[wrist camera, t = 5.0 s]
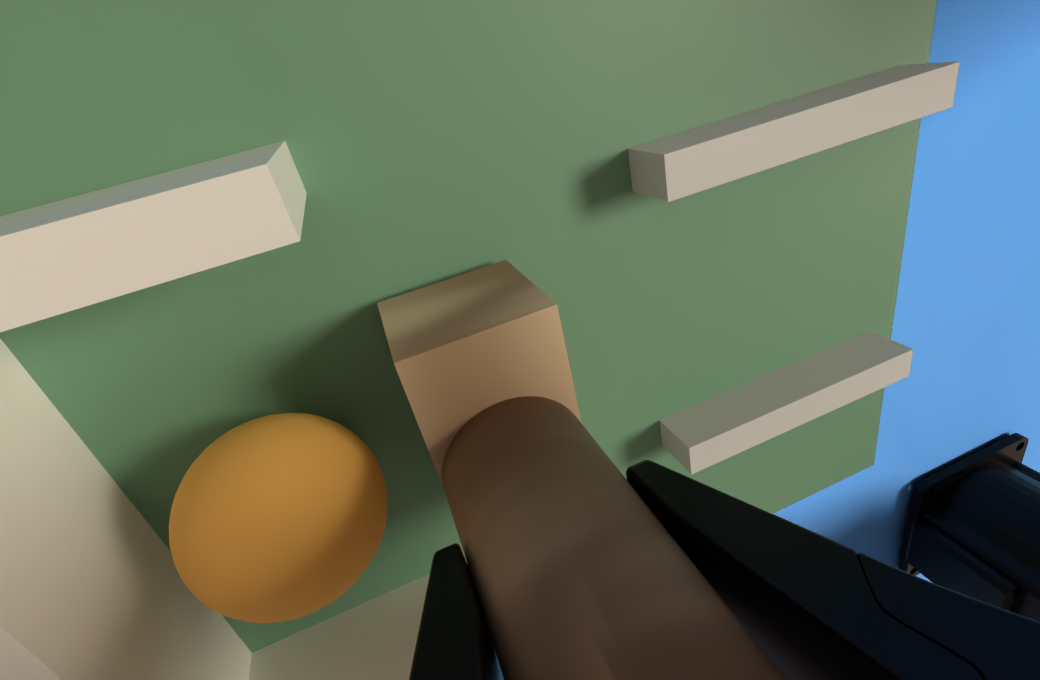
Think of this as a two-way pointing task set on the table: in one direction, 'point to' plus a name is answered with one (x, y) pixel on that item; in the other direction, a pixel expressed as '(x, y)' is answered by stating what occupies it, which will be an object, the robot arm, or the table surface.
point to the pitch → (490, 224)
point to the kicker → (550, 498)
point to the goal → (91, 490)
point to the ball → (278, 517)
